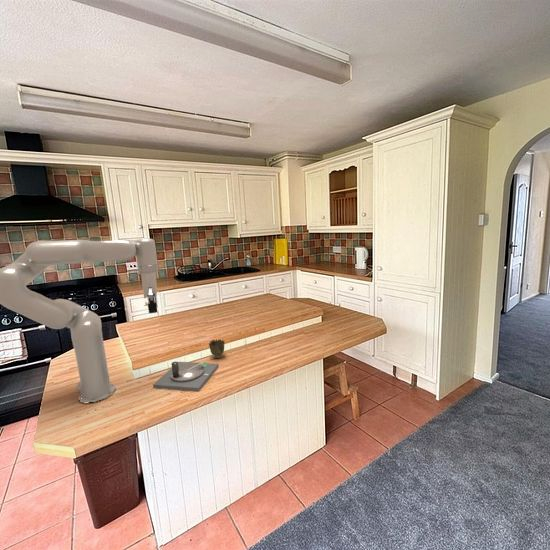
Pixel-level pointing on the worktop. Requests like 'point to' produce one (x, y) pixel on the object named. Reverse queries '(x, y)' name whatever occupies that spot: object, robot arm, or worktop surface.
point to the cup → (217, 348)
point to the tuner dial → (186, 371)
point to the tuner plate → (191, 385)
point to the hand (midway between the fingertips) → (153, 309)
